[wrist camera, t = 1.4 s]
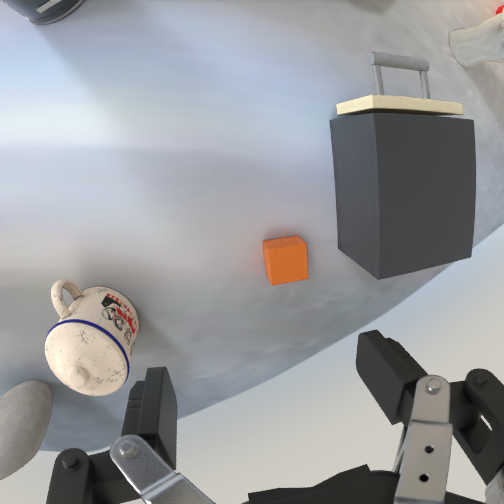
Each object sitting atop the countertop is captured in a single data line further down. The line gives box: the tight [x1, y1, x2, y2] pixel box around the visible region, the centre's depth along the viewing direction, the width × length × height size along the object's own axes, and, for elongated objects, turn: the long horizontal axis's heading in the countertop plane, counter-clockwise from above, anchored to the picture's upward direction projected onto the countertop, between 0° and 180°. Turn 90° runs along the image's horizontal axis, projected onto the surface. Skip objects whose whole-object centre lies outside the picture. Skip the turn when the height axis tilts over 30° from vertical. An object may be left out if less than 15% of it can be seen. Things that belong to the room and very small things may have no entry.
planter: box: [0, 380, 52, 480], centre depth 28 cm, size 18×7×19 cm, turn 122°
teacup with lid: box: [45, 279, 139, 396], centre depth 29 cm, size 12×9×12 cm
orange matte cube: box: [263, 236, 308, 285], centre depth 34 cm, size 4×4×3 cm
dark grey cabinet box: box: [330, 113, 476, 280], centre depth 30 cm, size 15×13×10 cm
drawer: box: [336, 52, 463, 116], centre depth 29 cm, size 18×11×8 cm, turn 7°
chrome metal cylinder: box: [449, 12, 504, 68], centre depth 24 cm, size 7×7×15 cm
